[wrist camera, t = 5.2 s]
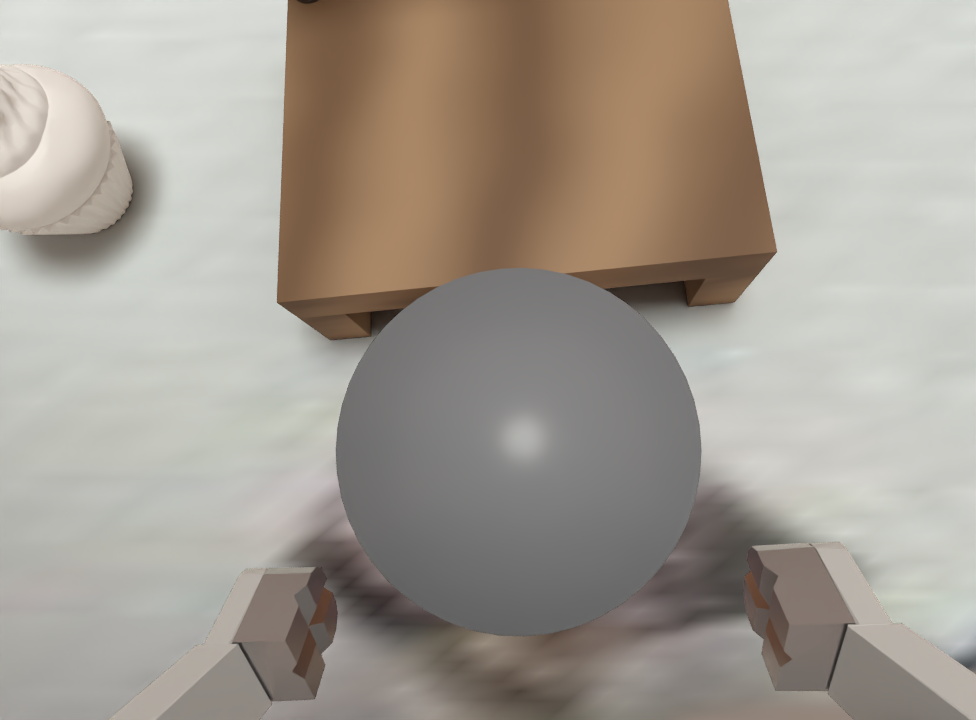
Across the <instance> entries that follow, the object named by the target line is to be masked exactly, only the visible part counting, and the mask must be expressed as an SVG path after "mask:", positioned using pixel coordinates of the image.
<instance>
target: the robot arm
mask: <svg viewBox="0 0 976 720" xmlns="http://www.w3.org/2000/svg"><path fill="white" fill-rule="evenodd" d="M747 562H748V565H749V567H750V570H751V571H750V572H749V573H748V574H747V575H746V576H745V577H744V586H743V592H744V602H745V607H746V611H747V615H748V618H749V621H750V624H751V627H752V629H753V631H754V632H756V633H757V634H758V635H759V636H760V637H762V638H763V639H764V641H763V647H762V653H761V654H762V656H763V659H764V662H765V664H766V667H767V670H768V672H769V675H770V677H771V680H772V683H773V685H774V688H775V691H828V695H829V696H830V697H831V698H832V699H833V700H834V701H835V702H836V703H837V704H838V705H839V706H840V707H841V708H842V709H843V710H845V712H846V713H847V714H848V715H849V716H851V717H852V719H854V720H976V674H974V673H973V672H971V671H970V670H968V669H967V668H965V667H964V666H963V665H961V664H960V663H958V662H957V661H955V660H954V659H953V658H951V657H950V656H948V655H947V654H945V653H944V652H942V651H941V650H940V649H938V648H937V647H935V646H934V645H932V644H931V643H929V642H928V641H927V640H925V639H924V638H922V637H921V636H919V635H918V634H916V633H915V632H914V631H912V630H911V629H909V628H908V627H906V626H905V625H904V624H902V623H892V622H891V620H890V619H889V617H888V615H887V614H886V612H885V611H884V609H883V607H882V606H881V604H880V602H879V601H878V599H877V598H876V596H875V594H874V593H873V591H872V589H871V588H870V586H869V584H868V583H867V581H866V580H865V578H864V576H863V575H862V573H861V571H860V570H859V568H858V567H857V565H856V563H855V562H854V560H853V558H852V557H851V555H850V553H849V552H848V550H847V549H846V547H845V546H844V545H843V544H841V543H840V542H828V543H809V544H807V543H797V544H780V545H763V546H751V547H750V549H749V550H748V556H747ZM326 579H327V578H326V576H325V574H324V572H323V570H322V567H299V568H258V569H245V570H244V571H243V572H242V573H241V574H240V575H239V576H238V578H237V580H236V582H235V584H234V586H233V588H232V590H231V592H230V594H229V596H228V598H227V600H226V602H225V604H224V606H223V608H222V610H221V611H220V613H219V615H218V617H217V619H216V621H215V623H214V625H213V627H212V629H211V631H210V633H209V635H208V637H207V639H206V641H205V643H204V645H196V646H195V647H193V648H192V649H191V650H190V651H189V652H188V653H186V654H185V655H184V656H183V657H182V658H180V659H179V660H178V661H177V662H176V663H175V664H173V665H172V666H171V667H170V668H169V669H168V670H166V671H165V672H164V673H163V674H162V675H160V676H159V677H158V678H157V679H156V680H155V681H153V682H152V683H151V684H150V685H149V686H147V687H146V688H145V689H144V690H143V691H142V692H140V693H139V694H138V695H137V696H136V697H134V698H133V699H132V700H131V701H130V702H129V703H127V704H126V705H125V706H124V707H123V708H122V709H120V710H119V711H118V712H117V713H116V714H114V715H113V716H112V717H111V718H110V719H109V720H259V719H260V718H261V717H262V716H263V715H264V713H265V712H266V711H267V710H268V709H269V707H270V706H271V705H272V702H271V701H291V700H311V699H315V697H316V694H317V690H318V687H319V684H320V681H321V678H322V674H323V671H324V668H325V663H324V660H323V658H322V655H321V654H322V653H323V652H324V651H325V650H326V649H327V648H328V647H329V646H330V644H331V643H332V642H333V638H334V635H335V631H336V625H337V613H338V612H337V605H336V601H335V598H334V595H333V593H331V592H330V591H329V590H327V589H326V588H324V585H325V582H326Z"/></svg>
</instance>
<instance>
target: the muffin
mask: <svg viewBox="0 0 976 720" xmlns="http://www.w3.org/2000/svg"><path fill="white" fill-rule="evenodd" d="M132 187H133V183H132V179H131V176H130V173H129V171H128V168H127V165H126V162H125V159H124V156H123V153H122V150H121V148H120V145H119V142H118V139H117V137H116V134H115V132H114V131H113V128H112V126H111V123H110V121H106V118H105V115H104V113H103V111H102V109H101V107H100V105H99V103H98V102H97V100H96V99H95V97H94V96H93V95H92V94H91V93H90V92H89V91H88V90H87V89H86V88H85V87H84V86H83V85H82V84H80V83H79V82H78V81H76V80H75V79H73V78H71V77H69V76H68V75H66V74H63V73H61V72H59V71H56V70H53V69H50V68H46V67H43V66H37V65H29V64H15V65H0V229H1V230H9V231H10V232H20V233H21V234H23V235H49V234H92V233H95V232H100V231H101V230H102V229H108V227H109V226H110V225H114V224H115V222H116V220H119V219H121V215H122V214H124V213H125V210H126V208H127V207H129V201H131V200H132V197H131V195H132V193H133V190H132Z"/></svg>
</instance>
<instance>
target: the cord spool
mask: <svg viewBox="0 0 976 720" xmlns="http://www.w3.org/2000/svg"><path fill="white" fill-rule="evenodd" d="M336 462H337V476H338V481H339V487H340V492H341V498H342V501H343V504H344V507H345V510H346V513H347V516H348V520H349V522H350V524H351V526H352V528H353V530H354V532H355V535H356V537H357V539H358V541H359V543H360V544H361V546H362V547H363V549H364V551H365V552H366V554H367V555H368V557H369V558H370V560H371V562H372V563H373V564H374V565H375V566H376V568H377V569H378V570H379V571H380V572H381V573H382V575H383V576H384V577H385V578H386V579H387V581H388V582H390V583H391V584H392V585H393V586H394V587H395V588H396V589H397V590H398V591H400V592H401V593H402V594H403V595H404V596H405V597H406V598H408V599H409V600H411V601H412V602H414V603H415V604H416V605H418V606H419V607H421V608H422V609H424V610H425V611H427V612H429V613H431V614H433V615H435V616H437V617H439V618H441V619H443V620H445V621H447V622H449V623H452V624H455V625H458V626H461V627H464V628H467V629H470V630H473V631H478V632H483V633H489V634H494V635H503V636H532V635H542V634H551V633H555V632H558V631H562V630H566V629H570V628H574V627H577V626H580V625H582V624H584V623H587V622H589V621H592V620H594V619H597V618H599V617H601V616H603V615H604V614H606V613H608V612H609V611H611V610H613V609H614V608H616V607H618V606H619V605H621V604H623V603H624V602H625V601H626V600H628V599H629V598H630V597H631V596H633V595H634V594H635V593H636V592H638V591H639V590H640V589H641V588H642V587H643V586H644V585H645V584H646V583H647V582H648V581H649V580H650V579H651V578H652V577H653V576H654V575H655V574H656V572H657V571H658V570H659V569H660V568H661V567H662V565H663V564H664V562H665V561H666V560H667V558H668V557H669V555H670V554H671V552H672V551H673V549H674V548H675V546H676V544H677V542H678V540H679V539H680V537H681V535H682V533H683V531H684V529H685V527H686V525H687V522H688V519H689V516H690V513H691V510H692V508H693V505H694V502H695V498H696V493H697V488H698V483H699V477H700V466H701V438H700V426H699V420H698V416H697V411H696V407H695V402H694V399H693V396H692V393H691V390H690V388H689V385H688V382H687V379H686V377H685V375H684V373H683V371H682V369H681V367H680V365H679V363H678V361H677V359H676V357H675V356H674V354H673V353H672V351H671V350H670V349H669V347H668V346H667V344H666V343H665V341H664V340H663V338H662V337H661V336H660V335H659V334H658V333H657V331H656V330H655V329H654V328H653V327H652V326H651V325H650V324H649V323H648V321H647V320H646V319H645V318H643V317H642V316H641V315H640V314H639V313H638V312H636V311H635V310H634V309H633V308H632V307H631V306H629V305H628V304H627V303H625V302H624V301H622V300H621V299H619V298H618V297H616V296H615V295H613V294H612V293H610V292H608V291H606V290H604V289H602V288H600V287H598V286H596V285H594V284H592V283H590V282H588V281H585V280H582V279H579V278H576V277H573V276H570V275H567V274H563V273H558V272H554V271H549V270H543V269H531V268H507V269H496V270H490V271H484V272H478V273H475V274H471V275H468V276H464V277H461V278H458V279H455V280H453V281H450V282H448V283H446V284H444V285H441V286H439V287H437V288H435V289H433V290H432V291H430V292H428V293H426V294H425V295H423V296H421V297H419V298H418V299H417V300H415V301H414V302H413V303H411V304H410V305H409V306H407V307H406V308H405V309H403V310H402V311H401V312H400V313H399V314H398V315H396V316H395V317H394V318H393V319H392V320H391V321H390V322H389V323H388V324H387V325H386V326H385V327H384V328H383V330H382V331H381V332H380V333H379V334H378V336H377V337H376V338H375V339H374V341H373V342H372V343H371V344H370V346H369V348H368V349H367V351H366V352H365V354H364V355H363V357H362V359H361V360H360V362H359V364H358V366H357V368H356V370H355V372H354V374H353V376H352V378H351V380H350V383H349V385H348V388H347V391H346V394H345V397H344V400H343V403H342V407H341V413H340V418H339V423H338V428H337V442H336Z"/></svg>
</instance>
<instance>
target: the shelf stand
mask: <svg viewBox="0 0 976 720" xmlns="http://www.w3.org/2000/svg"><path fill="white" fill-rule="evenodd" d="M776 252H777V249H776V244H775V239H774V233H773V228H772V223H771V218H770V213H769V208H768V203H767V198H766V193H765V188H764V182H763V177H762V172H761V167H760V162H759V157H758V152H757V147H756V142H755V137H754V131H753V126H752V121H751V116H750V111H749V106H748V101H747V96H746V91H745V86H744V80H743V75H742V70H741V65H740V60H739V55H738V50H737V45H736V40H735V34H734V29H733V24H732V19H731V14H730V9H729V4H728V0H288V13H287V41H286V68H285V96H284V123H283V150H282V178H281V205H280V232H279V260H278V287H277V303H278V304H280V305H281V306H282V307H284V308H285V309H287V310H288V311H290V312H291V313H292V314H294V315H295V316H297V317H298V318H300V319H301V320H302V321H304V322H305V323H307V324H308V325H310V326H311V327H312V328H314V329H315V330H317V331H318V332H320V333H321V334H322V335H324V336H325V337H327V338H328V339H330V340H335V339H346V338H357V337H367V336H371V311H381V310H391V309H401V308H406V307H407V306H409V305H410V304H411V303H413V302H414V301H415V300H417V299H418V298H419V297H421V296H423V295H425V294H426V293H428V292H430V291H432V290H433V289H435V288H437V287H439V286H441V285H444V284H446V283H448V282H450V281H453V280H455V279H458V278H461V277H464V276H468V275H471V274H475V273H478V272H484V271H490V270H496V269H507V268H531V269H543V270H549V271H554V272H558V273H563V274H567V275H570V276H573V277H576V278H579V279H582V280H585V281H588V282H590V283H592V284H594V285H596V286H598V287H600V288H602V289H605V288H615V287H625V286H636V285H646V284H656V283H666V282H676V281H684V282H685V289H686V296H687V302H688V307H689V306H700V305H711V304H722V303H732V302H735V301H736V300H737V299H738V298H739V296H740V295H741V294H742V293H743V292H744V290H745V289H746V288H747V287H748V286H749V285H750V283H751V282H752V281H753V280H754V279H755V277H756V276H757V275H758V274H759V273H760V271H761V270H762V269H763V268H764V267H765V266H766V264H767V263H768V262H769V261H770V260H771V258H772V257H773V256H774V255H775V254H776Z"/></svg>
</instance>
